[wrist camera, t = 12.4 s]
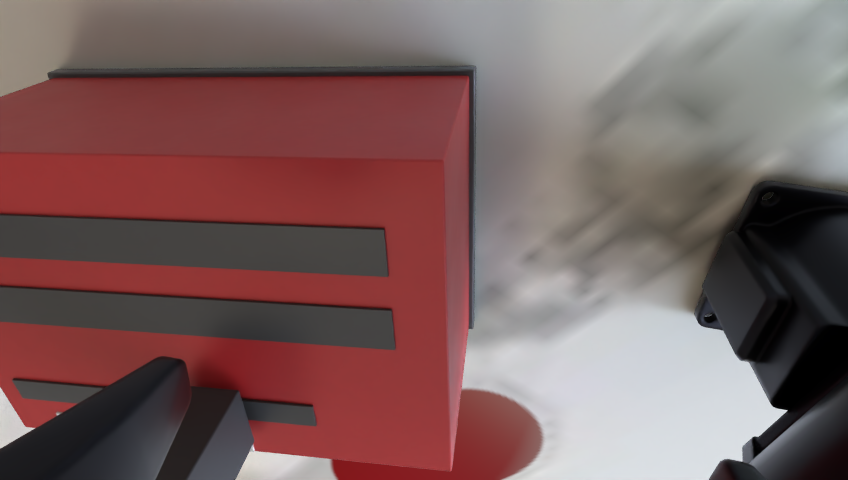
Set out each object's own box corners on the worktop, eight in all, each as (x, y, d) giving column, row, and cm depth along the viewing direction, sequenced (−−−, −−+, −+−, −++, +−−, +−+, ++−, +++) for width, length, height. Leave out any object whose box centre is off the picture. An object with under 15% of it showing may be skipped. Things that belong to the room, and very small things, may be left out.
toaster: (476, 65, 18) (452, 153, 12) (474, 320, 24) (457, 479, 18) (57, 69, 21) (-167, 143, 14) (147, 300, 27) (20, 432, 20)
